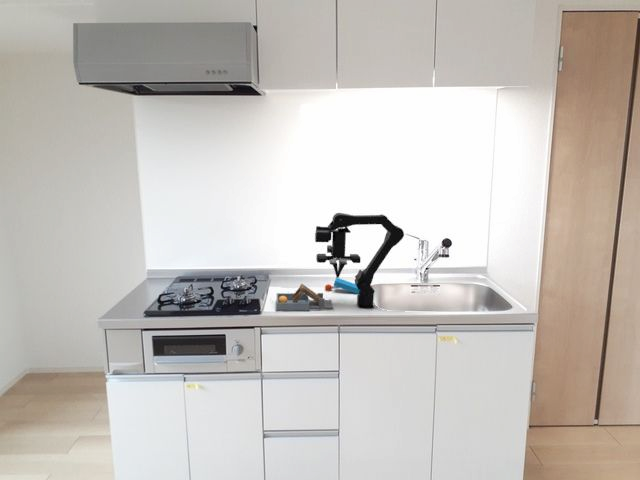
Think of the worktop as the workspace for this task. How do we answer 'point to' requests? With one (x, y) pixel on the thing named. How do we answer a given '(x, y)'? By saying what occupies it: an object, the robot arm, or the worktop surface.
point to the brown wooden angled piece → (307, 291)
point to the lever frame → (321, 304)
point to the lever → (343, 286)
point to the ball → (282, 299)
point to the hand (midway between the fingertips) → (337, 277)
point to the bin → (292, 303)
